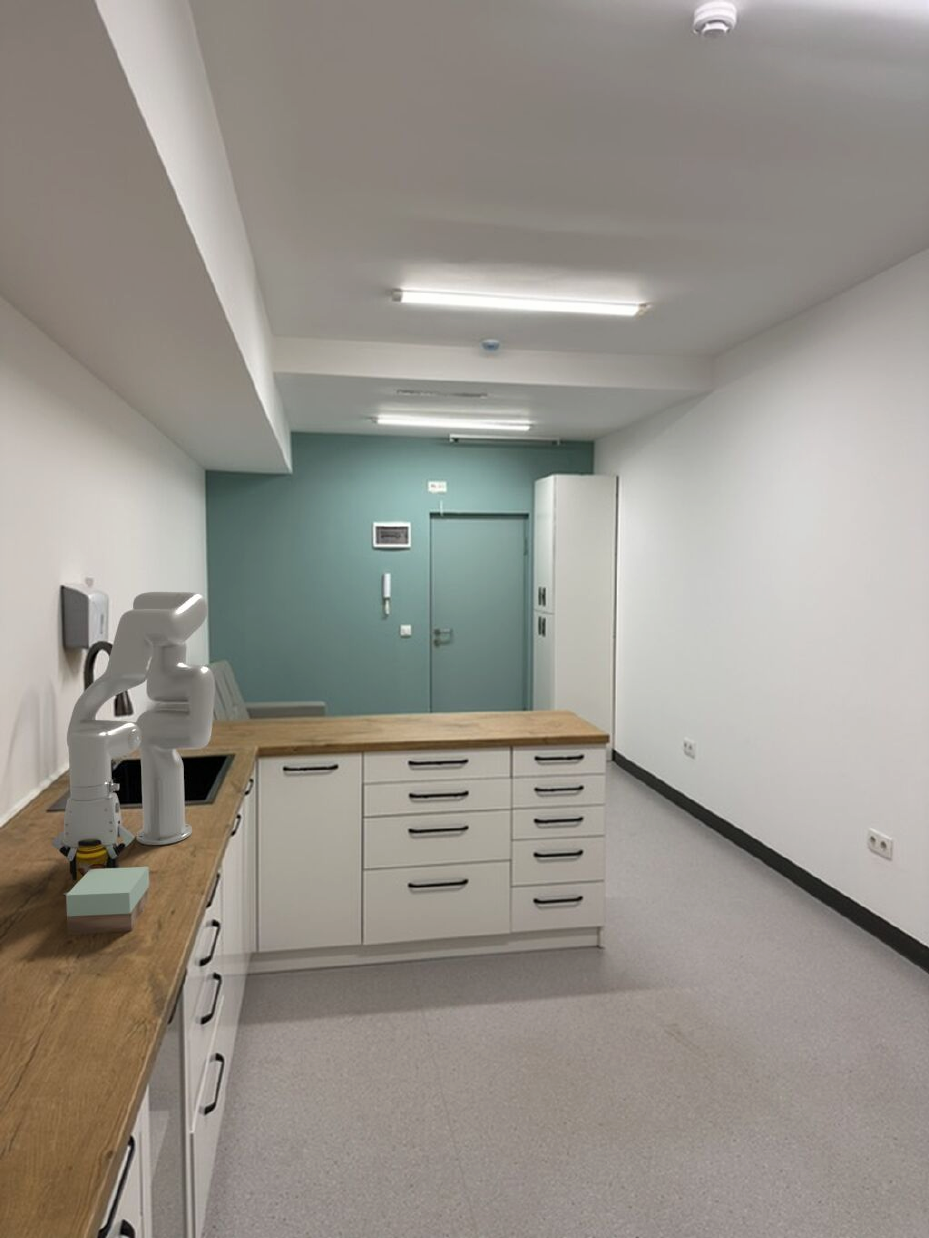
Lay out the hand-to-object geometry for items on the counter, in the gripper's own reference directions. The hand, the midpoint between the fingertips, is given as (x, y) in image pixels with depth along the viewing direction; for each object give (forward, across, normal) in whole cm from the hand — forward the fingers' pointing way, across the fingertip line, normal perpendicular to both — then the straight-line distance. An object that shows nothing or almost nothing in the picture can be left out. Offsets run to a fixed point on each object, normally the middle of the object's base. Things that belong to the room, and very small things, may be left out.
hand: (94, 875), depth 149 cm
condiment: (+4, +1, 0) cm, 4 cm away
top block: (0, -6, +12) cm, 14 cm away
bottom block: (+4, -6, +12) cm, 14 cm away
